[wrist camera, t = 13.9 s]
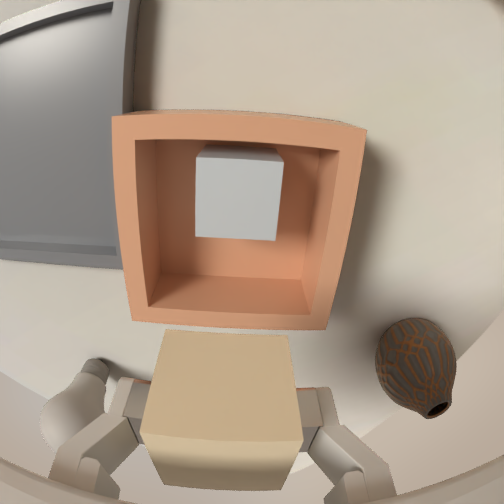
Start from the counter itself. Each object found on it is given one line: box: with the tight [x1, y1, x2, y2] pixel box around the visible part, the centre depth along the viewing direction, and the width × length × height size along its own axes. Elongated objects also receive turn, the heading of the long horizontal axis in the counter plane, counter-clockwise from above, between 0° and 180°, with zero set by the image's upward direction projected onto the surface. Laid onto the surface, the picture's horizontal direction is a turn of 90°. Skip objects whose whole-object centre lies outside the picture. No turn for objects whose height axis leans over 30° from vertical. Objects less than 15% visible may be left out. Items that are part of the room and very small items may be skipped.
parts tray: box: [0, 0, 140, 269], centre depth 16 cm, size 18×16×2 cm
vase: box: [375, 318, 456, 419], centre depth 22 cm, size 7×7×9 cm
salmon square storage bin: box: [112, 110, 367, 330], centre depth 18 cm, size 12×12×4 cm
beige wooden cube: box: [139, 329, 304, 491], centre depth 9 cm, size 4×4×4 cm
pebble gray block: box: [195, 144, 284, 241], centre depth 17 cm, size 4×4×4 cm
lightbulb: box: [40, 359, 109, 453], centre depth 22 cm, size 6×6×11 cm
